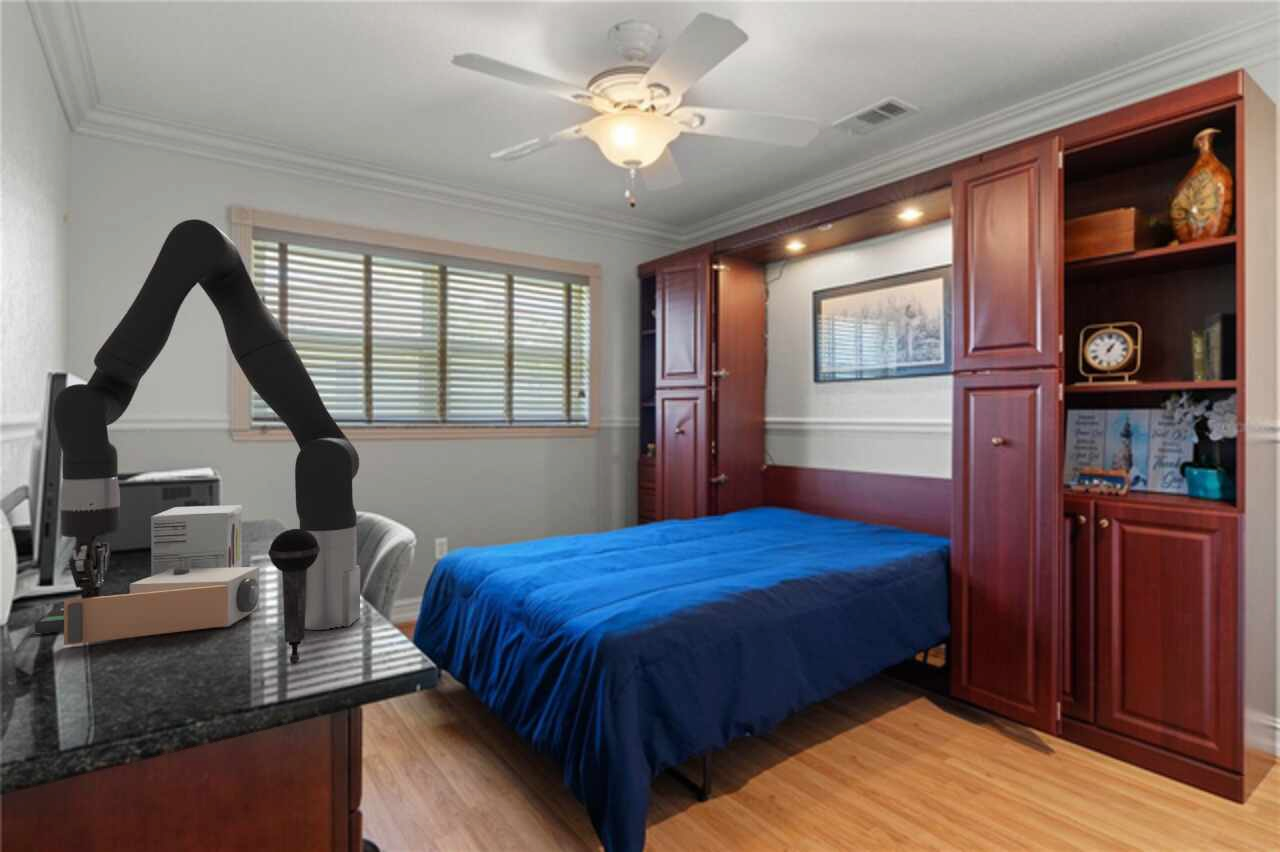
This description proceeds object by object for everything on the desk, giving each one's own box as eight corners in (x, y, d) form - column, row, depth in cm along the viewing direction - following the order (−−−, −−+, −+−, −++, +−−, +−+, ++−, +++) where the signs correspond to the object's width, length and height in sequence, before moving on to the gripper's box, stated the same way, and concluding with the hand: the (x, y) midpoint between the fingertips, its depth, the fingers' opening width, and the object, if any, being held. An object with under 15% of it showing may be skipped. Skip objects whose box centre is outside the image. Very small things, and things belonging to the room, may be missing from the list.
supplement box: (229, 602, 132) (228, 512, 132) (149, 609, 127) (149, 516, 127) (244, 583, 148) (243, 503, 148) (173, 589, 143) (173, 506, 143)
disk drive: (63, 616, 124) (33, 637, 111) (63, 601, 124) (33, 621, 111) (130, 609, 129) (110, 629, 116) (130, 595, 129) (110, 613, 116)
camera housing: (269, 607, 127) (269, 562, 127) (238, 626, 116) (238, 576, 116) (171, 610, 125) (171, 564, 125) (129, 630, 113) (129, 579, 113)
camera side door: (227, 624, 115) (226, 584, 115) (225, 627, 113) (225, 587, 113) (66, 643, 105) (66, 599, 105) (61, 647, 103) (61, 602, 103)
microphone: (284, 674, 93) (284, 534, 93) (258, 665, 97) (258, 530, 97) (329, 659, 99) (329, 527, 99) (303, 651, 102) (303, 524, 102)
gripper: (107, 508, 104) (108, 617, 104) (129, 499, 116) (130, 597, 116) (46, 511, 100) (47, 624, 101) (75, 502, 112) (75, 602, 112)
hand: (91, 609), depth 108 cm, fingers closed
